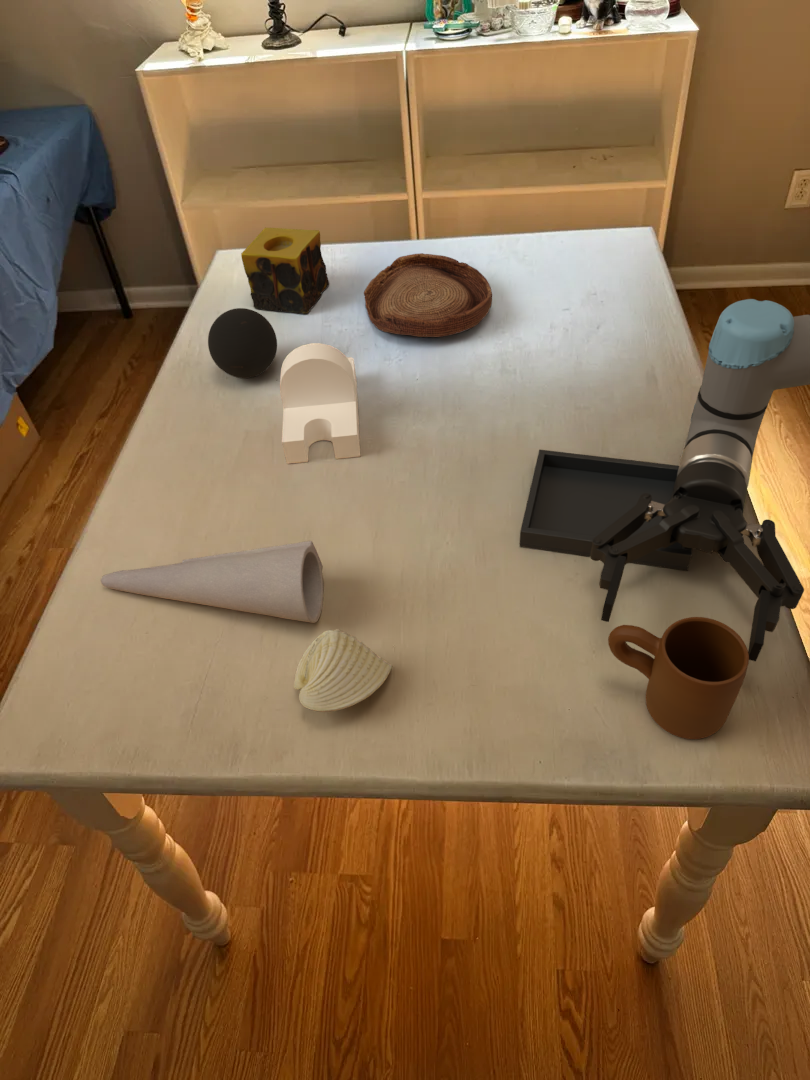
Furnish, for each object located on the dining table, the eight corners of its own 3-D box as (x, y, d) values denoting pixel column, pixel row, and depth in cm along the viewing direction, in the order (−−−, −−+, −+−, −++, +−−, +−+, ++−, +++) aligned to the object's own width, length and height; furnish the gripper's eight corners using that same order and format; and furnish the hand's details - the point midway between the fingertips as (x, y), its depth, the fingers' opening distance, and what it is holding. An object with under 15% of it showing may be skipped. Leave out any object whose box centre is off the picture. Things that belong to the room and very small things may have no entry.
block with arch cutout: (360, 456, 104) (350, 387, 96) (286, 464, 104) (270, 395, 96) (356, 378, 116) (347, 311, 108) (290, 384, 116) (276, 318, 108)
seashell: (272, 661, 79) (325, 604, 79) (332, 702, 83) (383, 648, 83) (286, 705, 72) (344, 642, 72) (350, 747, 76) (406, 688, 76)
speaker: (204, 374, 120) (186, 315, 112) (257, 346, 124) (243, 288, 117) (242, 399, 114) (226, 340, 107) (295, 369, 119) (283, 310, 112)
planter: (62, 613, 83) (296, 593, 78) (88, 552, 88) (308, 529, 84) (97, 654, 88) (318, 637, 84) (119, 594, 94) (327, 575, 90)
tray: (687, 571, 86) (691, 555, 85) (519, 546, 91) (520, 531, 89) (690, 483, 96) (694, 467, 94) (538, 464, 100) (539, 449, 98)
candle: (330, 285, 136) (322, 229, 129) (308, 316, 129) (298, 258, 122) (277, 280, 138) (265, 225, 131) (252, 310, 132) (239, 253, 125)
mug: (589, 709, 76) (599, 652, 69) (610, 649, 80) (622, 590, 73) (718, 754, 71) (743, 698, 65) (733, 688, 76) (758, 630, 69)
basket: (347, 295, 133) (343, 268, 129) (454, 266, 137) (453, 238, 134) (397, 362, 118) (395, 333, 115) (515, 326, 123) (516, 298, 119)
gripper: (822, 534, 86) (809, 692, 73) (595, 485, 93) (546, 620, 80) (845, 484, 80) (836, 645, 67) (602, 436, 88) (551, 573, 75)
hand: (678, 632), depth 74 cm, fingers open, 13 cm apart
